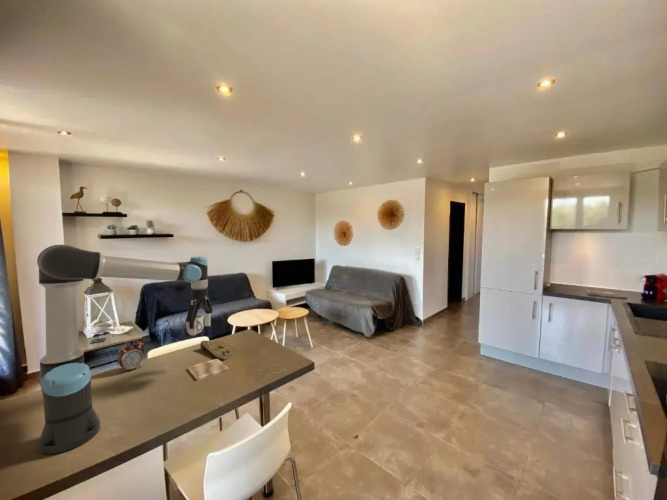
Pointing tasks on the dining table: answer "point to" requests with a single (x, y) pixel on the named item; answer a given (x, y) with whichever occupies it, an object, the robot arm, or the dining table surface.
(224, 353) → the decorative stone
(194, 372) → the board
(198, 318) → the cup
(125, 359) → the alarm clock
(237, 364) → the dining table surface
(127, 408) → the dining table surface
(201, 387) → the dining table surface
